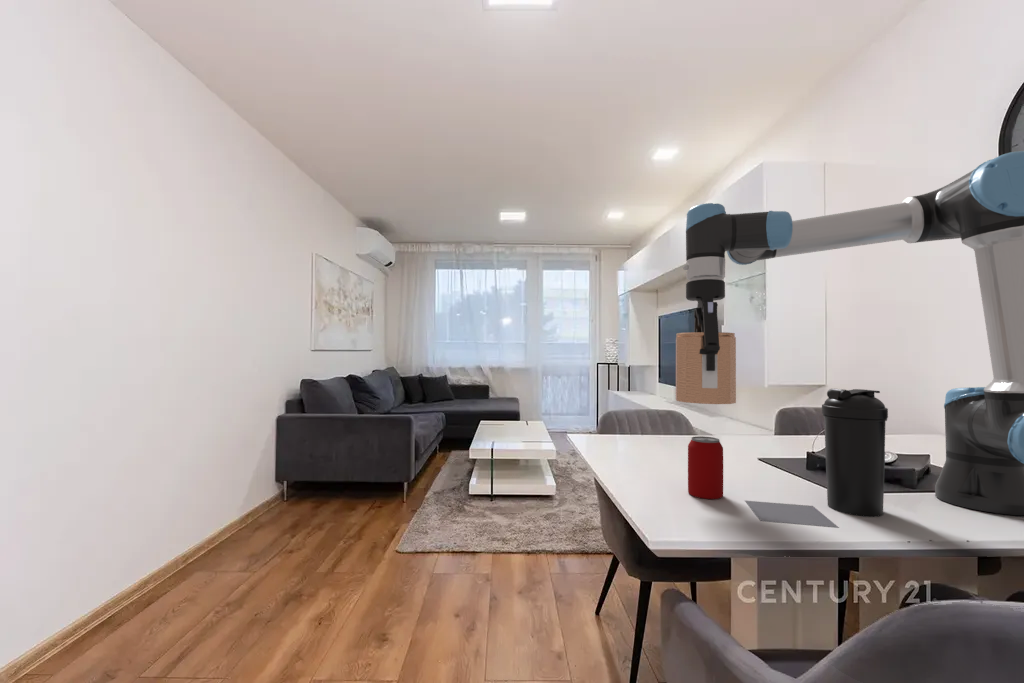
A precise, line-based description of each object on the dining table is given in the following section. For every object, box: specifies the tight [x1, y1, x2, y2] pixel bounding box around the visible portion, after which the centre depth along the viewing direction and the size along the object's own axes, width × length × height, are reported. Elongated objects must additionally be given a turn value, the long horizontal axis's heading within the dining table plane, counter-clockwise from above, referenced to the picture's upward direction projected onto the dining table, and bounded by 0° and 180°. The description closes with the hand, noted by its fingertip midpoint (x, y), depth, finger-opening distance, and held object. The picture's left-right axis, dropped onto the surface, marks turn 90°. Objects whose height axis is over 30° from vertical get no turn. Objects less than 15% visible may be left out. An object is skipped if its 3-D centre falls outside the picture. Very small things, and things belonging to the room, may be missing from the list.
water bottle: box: [821, 388, 889, 518], centre depth 91 cm, size 10×10×23 cm
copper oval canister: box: [675, 331, 737, 405], centre depth 99 cm, size 11×11×14 cm
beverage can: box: [687, 435, 724, 500], centre depth 99 cm, size 7×7×12 cm
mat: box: [744, 500, 840, 529], centre depth 88 cm, size 12×12×1 cm
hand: (705, 386), depth 99 cm, fingers closed on copper oval canister, 11 cm apart
